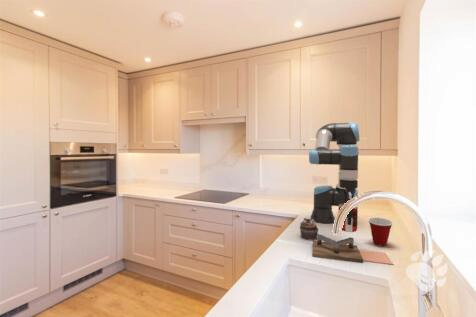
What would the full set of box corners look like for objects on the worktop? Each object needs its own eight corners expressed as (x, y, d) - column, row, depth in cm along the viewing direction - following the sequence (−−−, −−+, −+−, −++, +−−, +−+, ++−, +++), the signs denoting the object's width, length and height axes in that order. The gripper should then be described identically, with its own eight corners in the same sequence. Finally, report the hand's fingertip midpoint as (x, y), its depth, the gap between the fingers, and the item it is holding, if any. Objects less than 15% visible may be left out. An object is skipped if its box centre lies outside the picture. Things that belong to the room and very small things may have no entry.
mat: (358, 250, 114) (358, 249, 114) (385, 253, 110) (385, 252, 110) (363, 261, 102) (363, 260, 102) (393, 265, 99) (393, 264, 99)
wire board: (312, 243, 122) (312, 231, 122) (356, 248, 116) (356, 236, 116) (312, 256, 106) (312, 243, 106) (363, 263, 100) (363, 248, 100)
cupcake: (300, 239, 127) (300, 220, 127) (299, 233, 136) (299, 216, 136) (319, 241, 125) (320, 221, 125) (316, 234, 135) (317, 217, 135)
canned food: (341, 225, 117) (341, 202, 117) (359, 229, 112) (359, 205, 111) (335, 229, 111) (336, 205, 111) (354, 233, 106) (355, 208, 106)
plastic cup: (366, 245, 120) (366, 221, 120) (368, 238, 129) (369, 216, 129) (392, 250, 114) (392, 224, 114) (392, 243, 123) (393, 219, 123)
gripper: (337, 176, 122) (337, 221, 122) (341, 181, 102) (340, 235, 103) (354, 177, 119) (353, 223, 120) (361, 182, 100) (360, 237, 100)
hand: (347, 228), depth 111 cm, fingers closed on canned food, 8 cm apart
